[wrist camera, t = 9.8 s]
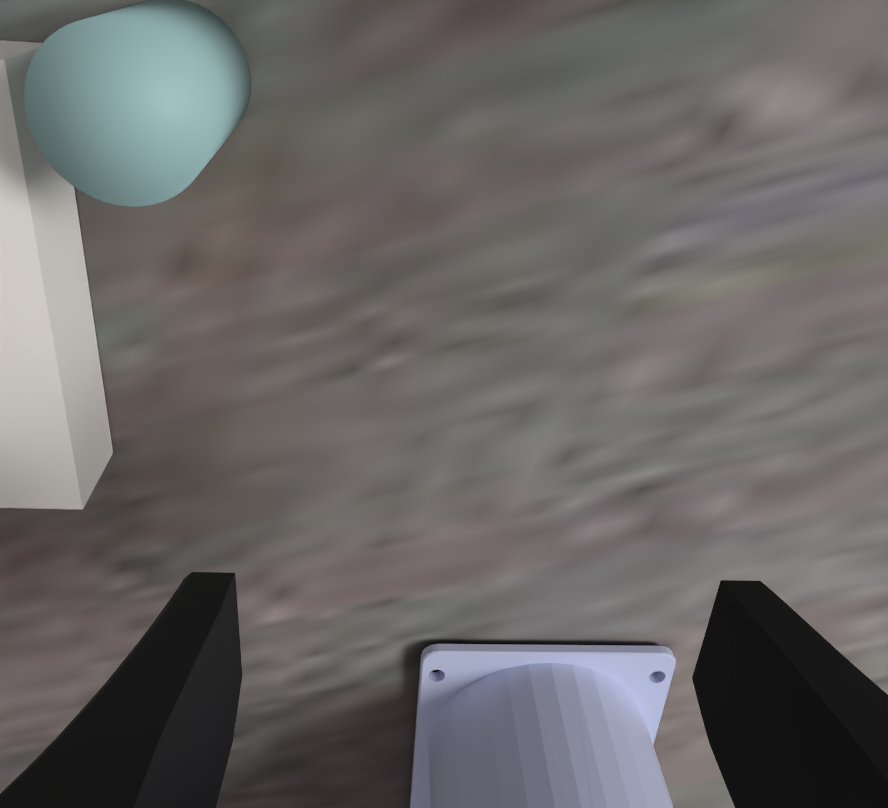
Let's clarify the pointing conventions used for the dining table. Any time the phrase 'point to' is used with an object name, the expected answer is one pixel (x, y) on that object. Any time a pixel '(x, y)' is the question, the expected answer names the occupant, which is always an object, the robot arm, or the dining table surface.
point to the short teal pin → (137, 99)
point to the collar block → (43, 322)
